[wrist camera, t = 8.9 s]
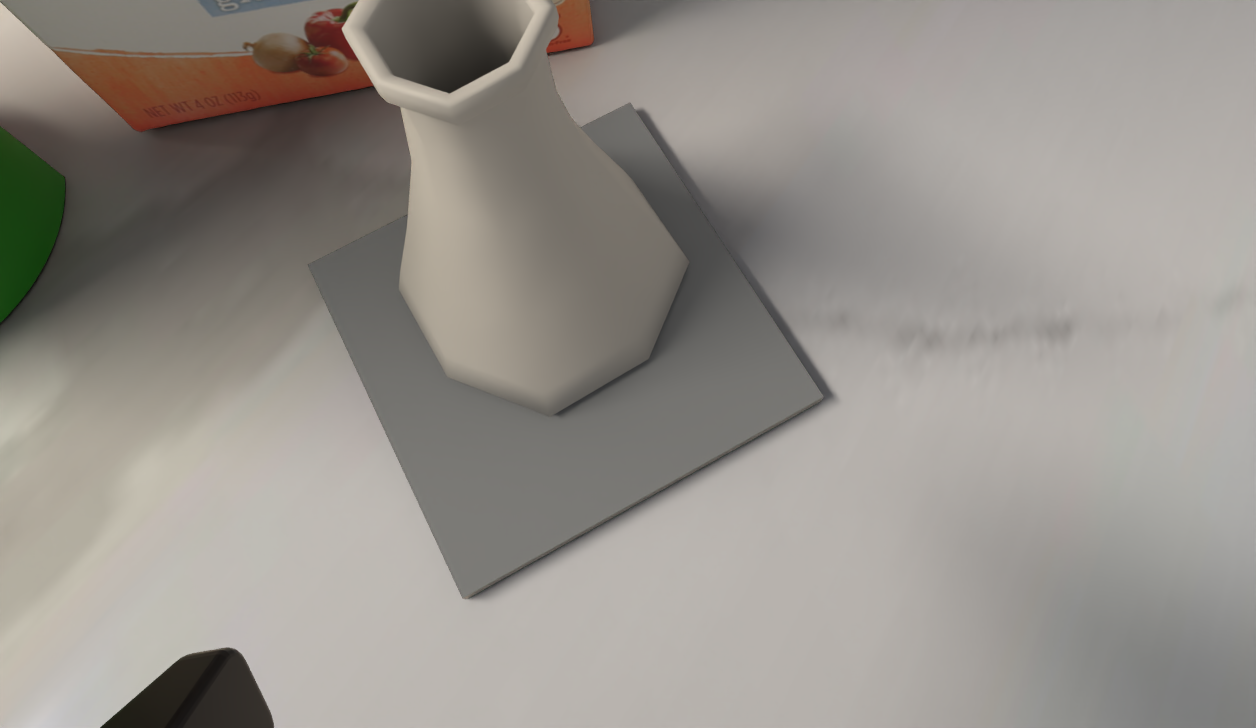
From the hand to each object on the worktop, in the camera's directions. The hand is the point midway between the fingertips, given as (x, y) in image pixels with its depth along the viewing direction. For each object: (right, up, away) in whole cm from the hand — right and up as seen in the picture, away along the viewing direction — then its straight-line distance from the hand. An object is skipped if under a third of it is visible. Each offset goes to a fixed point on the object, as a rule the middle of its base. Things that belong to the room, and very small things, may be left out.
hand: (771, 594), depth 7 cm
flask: (-3, +4, +16) cm, 17 cm away
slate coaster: (-3, +3, +16) cm, 16 cm away
